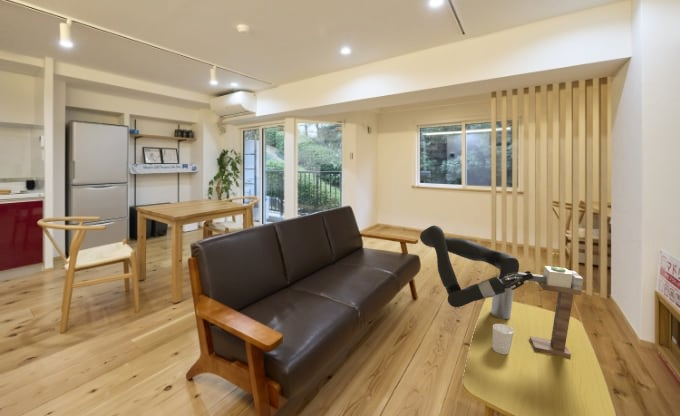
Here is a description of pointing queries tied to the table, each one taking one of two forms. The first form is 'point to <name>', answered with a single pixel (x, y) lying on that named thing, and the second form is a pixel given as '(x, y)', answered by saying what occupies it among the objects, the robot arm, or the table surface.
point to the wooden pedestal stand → (559, 318)
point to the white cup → (502, 338)
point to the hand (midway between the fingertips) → (531, 274)
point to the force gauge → (552, 277)
